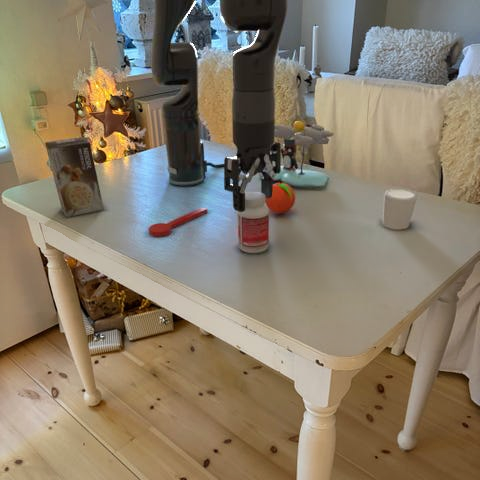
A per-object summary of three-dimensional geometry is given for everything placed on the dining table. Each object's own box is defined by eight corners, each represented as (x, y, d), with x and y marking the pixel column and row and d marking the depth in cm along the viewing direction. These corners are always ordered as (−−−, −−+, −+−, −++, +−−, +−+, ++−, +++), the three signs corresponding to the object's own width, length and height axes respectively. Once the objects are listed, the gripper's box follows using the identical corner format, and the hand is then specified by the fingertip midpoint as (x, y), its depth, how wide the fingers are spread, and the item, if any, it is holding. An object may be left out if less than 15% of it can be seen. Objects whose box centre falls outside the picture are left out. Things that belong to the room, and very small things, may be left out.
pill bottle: (274, 249, 100) (275, 196, 94) (249, 257, 97) (249, 203, 91) (257, 238, 104) (257, 187, 98) (232, 245, 101) (231, 194, 95)
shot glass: (412, 220, 110) (418, 189, 106) (410, 232, 105) (416, 201, 101) (381, 216, 112) (385, 186, 108) (378, 228, 107) (382, 197, 103)
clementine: (303, 215, 114) (304, 185, 110) (278, 222, 111) (279, 191, 107) (283, 204, 119) (284, 175, 115) (259, 210, 116) (259, 181, 112)
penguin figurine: (252, 179, 134) (252, 121, 126) (274, 169, 141) (275, 113, 133) (315, 194, 124) (320, 132, 116) (336, 182, 131) (341, 123, 123)
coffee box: (97, 201, 123) (85, 135, 114) (104, 210, 119) (91, 142, 109) (60, 209, 120) (44, 141, 111) (65, 218, 115) (49, 148, 106)
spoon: (197, 209, 118) (197, 204, 117) (212, 214, 115) (212, 209, 115) (144, 233, 107) (144, 228, 107) (159, 239, 105) (159, 233, 104)
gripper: (244, 128, 80) (245, 220, 89) (294, 111, 88) (290, 197, 98) (210, 121, 83) (214, 210, 93) (261, 105, 92) (260, 189, 102)
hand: (253, 203), depth 95 cm, fingers open, 8 cm apart
